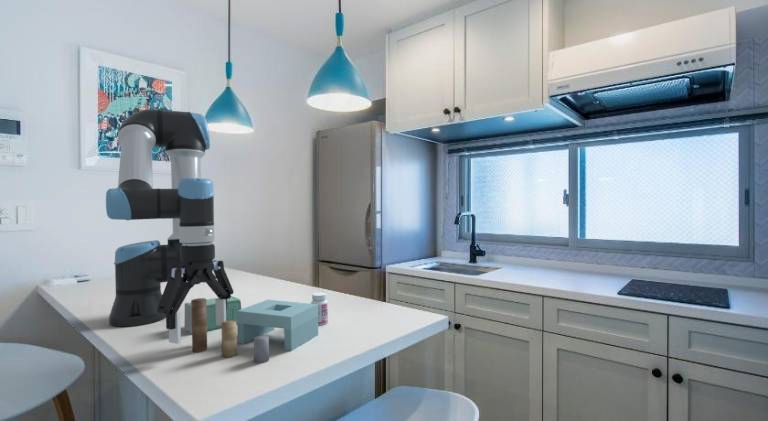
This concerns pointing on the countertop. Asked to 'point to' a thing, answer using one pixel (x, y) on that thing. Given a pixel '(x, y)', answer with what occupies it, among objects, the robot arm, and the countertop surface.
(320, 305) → the pill bottle
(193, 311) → the walnut pin
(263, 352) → the charcoal pin
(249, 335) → the bridge
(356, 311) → the countertop surface
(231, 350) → the oak pin
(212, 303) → the box
